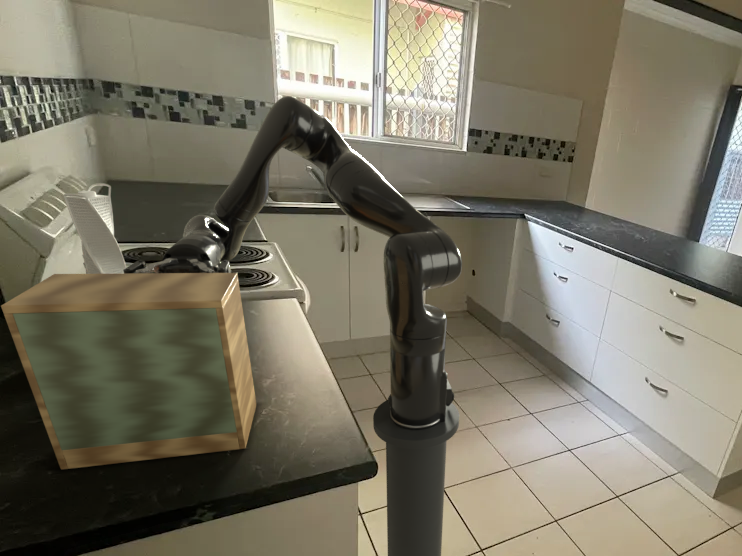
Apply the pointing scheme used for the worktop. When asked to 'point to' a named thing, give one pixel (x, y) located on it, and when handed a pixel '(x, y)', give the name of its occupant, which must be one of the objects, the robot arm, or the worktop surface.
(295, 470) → the worktop surface
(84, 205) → the box grater
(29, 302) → the shelf unit
